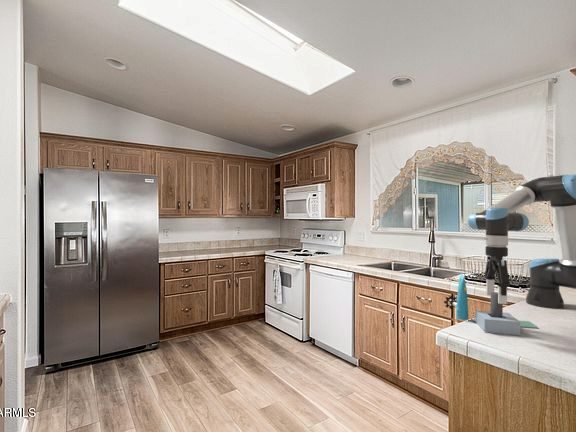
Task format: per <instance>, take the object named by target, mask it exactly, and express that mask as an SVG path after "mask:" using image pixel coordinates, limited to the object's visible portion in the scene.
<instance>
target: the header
mask: <svg viewBox="0 0 576 432" xmlns="http://www.w3.org/2000/svg"><path fill="white" fill-rule="evenodd" d="M474 313H475V316H474V317H475V323H476V324H477V326H478V327H479V328H480V330H482V331H483V333H489V332H490V333H491V334H501V333H504V334H503V335H515V336H521V327H520V321H521V320H519V319H517V318H516V317H515V316H513V315H512V314H510V313H509V312H505V311H503V318H495V317H491V310H489V311H487V310H477V309H476V310H475V312H474Z"/></svg>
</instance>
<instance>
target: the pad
mask: <svg viewBox="0 0 576 432" xmlns="http://www.w3.org/2000/svg"><path fill="white" fill-rule="evenodd" d="M519 321H520V328H526V329H527V328H528V329H539V327H538V326H537V325H536V324H534V323H533V322H531V321H530V320H529V321H528V320H519Z"/></svg>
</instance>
